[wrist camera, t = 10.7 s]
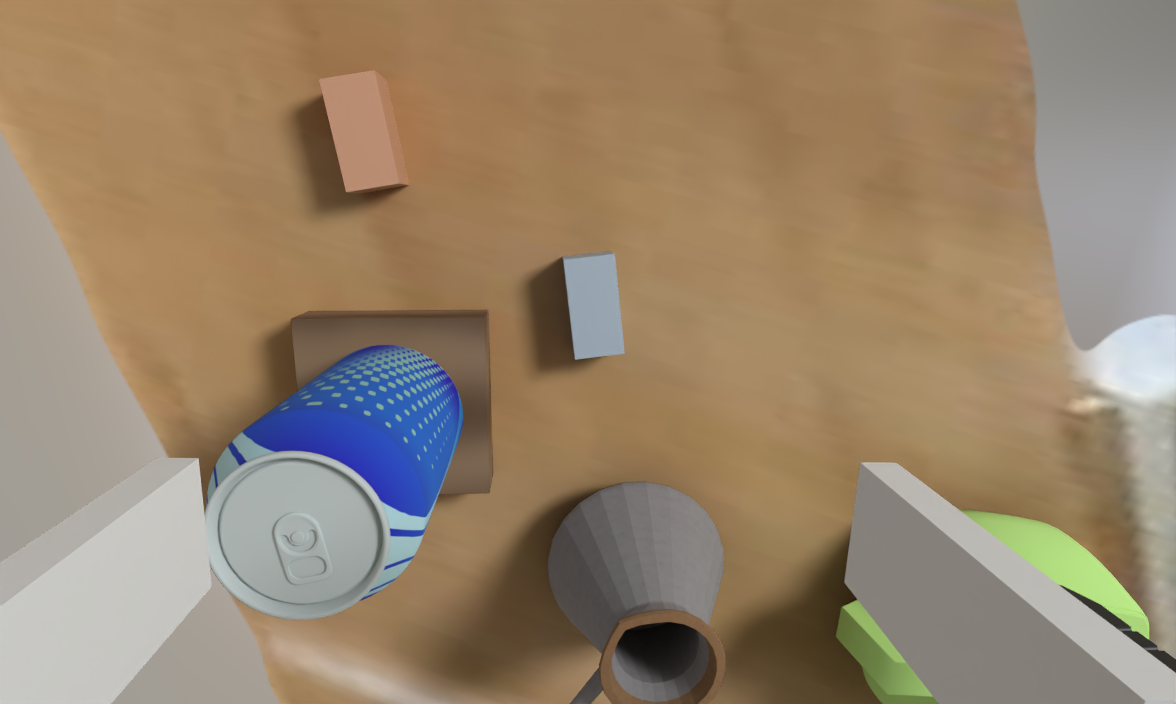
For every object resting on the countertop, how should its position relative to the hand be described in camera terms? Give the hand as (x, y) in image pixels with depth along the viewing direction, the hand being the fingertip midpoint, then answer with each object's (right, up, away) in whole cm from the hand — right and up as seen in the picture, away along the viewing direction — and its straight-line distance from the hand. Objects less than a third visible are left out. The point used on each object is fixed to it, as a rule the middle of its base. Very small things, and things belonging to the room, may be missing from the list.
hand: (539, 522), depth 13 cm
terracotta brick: (-12, +16, +26) cm, 33 cm away
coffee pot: (0, -13, +33) cm, 35 cm away
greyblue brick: (+1, +7, +29) cm, 30 cm away
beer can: (-11, 0, +26) cm, 28 cm away
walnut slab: (-11, +1, +29) cm, 31 cm away
